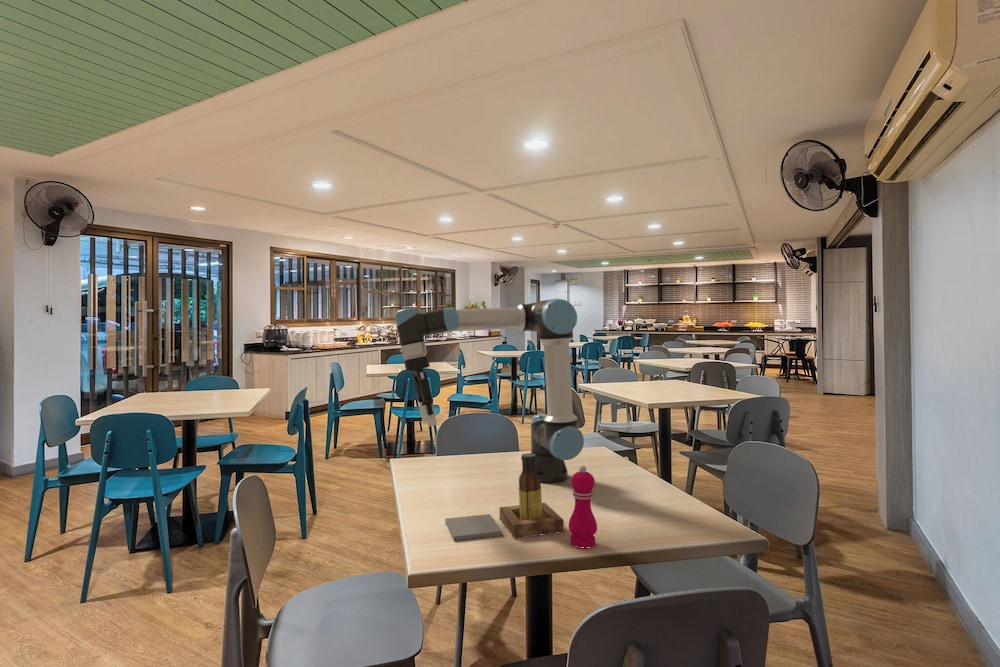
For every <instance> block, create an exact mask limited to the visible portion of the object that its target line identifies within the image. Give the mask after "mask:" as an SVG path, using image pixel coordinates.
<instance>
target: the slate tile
mask: <svg viewBox="0 0 1000 667" xmlns="http://www.w3.org/2000/svg"><path fill="white" fill-rule="evenodd" d="M444 522H445V525H446V527H448V528H447V530H448V529H449V530H448V531H450V532H449V534H450V536H451V538H453V539H452V541H453V540H458V541H464V540H463V539H467V540H473V539H472V538H476V539H481V538H480V537H485V538H491V537H490V536H494V537H499V536H498V535H502V536H503V531H502V529H501V527H500V525H498V523H497V522H496V521H495V519H494V517H493V516H492V515H491V514H490V513H488V514H487V513H486V514H479V515H467V516H459V517H447V518H445V519H444Z"/></svg>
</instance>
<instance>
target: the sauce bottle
mask: <svg viewBox="0 0 1000 667" xmlns="http://www.w3.org/2000/svg"><path fill="white" fill-rule="evenodd" d="M520 457H521V458H520V460H521V461H522V470H521V471H522V472H521V473H520V475H519V477H518V500H519V502H518V503H519V506H520V521H521V520H531V519H540V518H542V503H543V502H542V485H541V482H540V479H539V477H538V474H537V472H536V462H535V461H536V455H535V454H532V453H530V452H529V453H523V454H521V456H520Z"/></svg>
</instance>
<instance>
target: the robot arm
mask: <svg viewBox="0 0 1000 667" xmlns="http://www.w3.org/2000/svg"><path fill="white" fill-rule="evenodd" d="M577 313H578V312H577V310H576V309H575V307H574V305H573V304H572V303H571V302H569V301H568V300H565V299H560V298H552V299H551V298H550V299H547V300H545V299H544V300H540V301H536V302H532V303H525V304H524V303H523V304H522V303H521V304H518V305H517V306H516V307H492V308H491V307H490V308H489V307H488V308H471V309H470V308H468V309H467V308H466V309H465V308H464V309H463V308H461V309H456V308H455V307H454V306H453V307H444V308H439V309H433V310H429V311H425V312H419V310H418V308H417V307H409V308H404V309H400V310H398V311H396V312H395V314H394V316H395V317H394V319H395V326H396V329H397V330H396V331H397V335H398V339H399V342H400V343H399V344H400V346H401V349H400V350H399V351H400V353H402V357H403V359H404V368H405V371H406V372H407V373H409V372H413V373H412V380H413V383H414V388H415V394H416V399H417V402H418V406H419V412H420V416H421V421H422V423H427V427H428V428H429V427H433V426H437V425H438V422H437V417H436V413H435V408H434V399H433V395H432V393H431V389H430V384H429V380H428V376H427V372H426V371H424V369H428V368H430V366H431V365H430V360H429V357H428V355H427V354H428V351H427V345H426V341H425V338H424V337H428V336H431V335H437V334H443V333H448V332H469V331H471V332H472V331H490V330H492V331H493V330H511V329H512V330H513V329H514V330H515V329H518V331H519V332H537V333H538V340H539V341H540V342H541V343H542V344H543V354H544V355H543V356H544V357H543V358H544V372H545V373H544V374H545V389H546V390H545V391H546V408H547V409H546V410H547V413H546V414H534V415H533V416H531V421H530V422H531V423H530V447H531V448H530V452H531V453H532V454H535V455H536V461H535V462H536V472H537V474H538V477H539V479H540V483H545V484H546V483H560V482H564V481H565V480H568V477H569V476H568V475H569V474H568V472H569V471H568V469H567V465H566V462H565V461H569V460H572V459H575V458H576V457H577V456H579V454H580V453H581V452H582V450H583V449H584V444H585V438H584V435H583V433H582V431H581V430H580V429H579V420H578V416H577V415H575V414H574V412H573V393H572V378H571V377H572V375H571V360H570V358H571V356H570V343H571V341H572V340H573V339H574V333H573V332H574V329H575V327H576V325H577V324H578V314H577Z"/></svg>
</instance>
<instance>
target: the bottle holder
mask: <svg viewBox="0 0 1000 667" xmlns="http://www.w3.org/2000/svg"><path fill="white" fill-rule="evenodd" d="M500 520H501V521H502V522H501V521H500ZM499 521H500V522H501V523H502V524H504V525H505V526H504V525H503V526H504V527H505V529H506V528H507V529H508V530H509V531H508V530H507V529H506V530H507V531H508V533H509V532H510V533H511V534H512V535H511V534H510V533H509V534H510V535H511V537H512V536H513V537H521V538H525V537H524V536H529V537H533V536H532V535H538V536H541V535H540V534H547V535H550V534H549V533H556V532H565V531H564V530H565V529H564V527H565V525H564V522H565V521H564V519H563V517H561V516H560V515H559V514H558V513H557V512H556V511H555V510H553V508H552V507H550V506H549V505H548V503H546V502H542V518H540V519H531V520H521V521H520V506H519V505H507V506H500V507H499ZM556 534H557V533H556ZM513 537H512V538H513Z"/></svg>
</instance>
